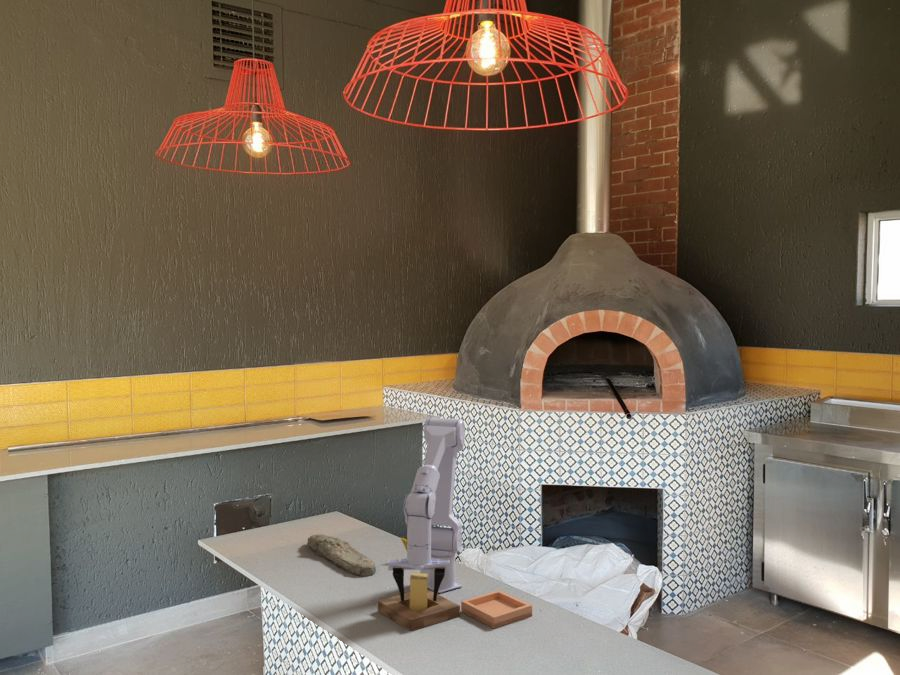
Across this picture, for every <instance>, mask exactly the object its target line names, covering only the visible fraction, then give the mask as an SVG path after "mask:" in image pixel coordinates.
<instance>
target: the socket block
mask: <svg viewBox="0 0 900 675" xmlns="http://www.w3.org/2000/svg"><path fill="white" fill-rule="evenodd" d="M433 594H434V591H432V590H430V589H428V588H427V608H425V609H422V610H418V611H413V610H412V609H410V591H409V592H406V593H405V592H404V601H401V597H400V594H398V595H395V596H390V597H386V598H383V599H380V600H378V601H377V612H379V613H381V614H382V615H384V616H386V617H387V618H389V619H391V620H392V621H394V622H396V623H397V624H399V625H400V626H402V627H404V628H406V629H407V630H408V631H410V632H413V631H415V630H420V629H422V628H425V627H430V626H433V625H436V624H440V623H442V622H445V621H448V620H452V619H455V618H459V617H460V616H461V604H458V603H455V602H453V601H452V600H449V599H447V598H445V597H444V596H442V595H440V594H439V593H437V598H436V601H433Z"/></svg>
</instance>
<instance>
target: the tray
mask: <svg viewBox="0 0 900 675" xmlns="http://www.w3.org/2000/svg"><path fill="white" fill-rule="evenodd" d="M461 612H462V613H464V614H465V615H467V616H469V617H471V618H473V619H475V620H477V621H479V622H480V623H483V624H485V625H487V626H488V627H490V628H492V629H497V628H499V627H503V626H505V625H508V624H511V623H515V622H518V621H520V620H523V619H526V618H530V617H532V616H533V605H532V604H530V603H528V602H526V601H524V600H521V599H519V598H517V597H515V596H512V595H510V594H508V593H506V592H504V591H502V590H495V591H492V592H489V593H488V592H487V593H483V594H481V595H478V596H474V597H470V598H468V599H464V600H461V602H460V613H461Z"/></svg>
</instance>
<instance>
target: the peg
mask: <svg viewBox="0 0 900 675" xmlns="http://www.w3.org/2000/svg"><path fill="white" fill-rule="evenodd" d="M409 577H410V579H409V592H410V609H412V610H413V611H418V610H422V609H425V608H427V589H428V588H427V574H422V573H420V572H419V573H418V572H417V573H410V576H409Z"/></svg>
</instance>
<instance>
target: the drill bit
mask: <svg viewBox="0 0 900 675" xmlns="http://www.w3.org/2000/svg"><path fill="white" fill-rule="evenodd" d="M400 539H401V542H402V544H403V546H404V548H405V550H406V551H407V539H406V538H404V537H402V536H400Z"/></svg>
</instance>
